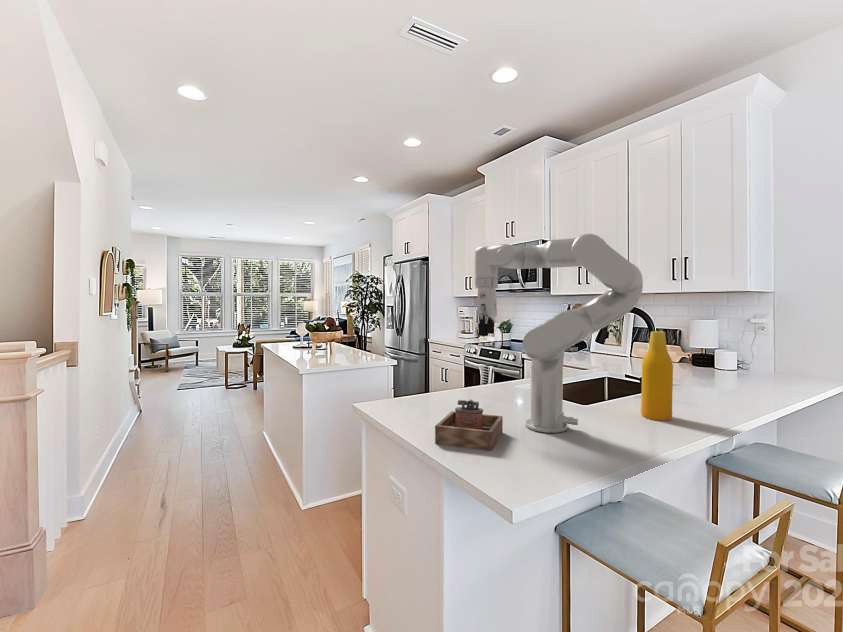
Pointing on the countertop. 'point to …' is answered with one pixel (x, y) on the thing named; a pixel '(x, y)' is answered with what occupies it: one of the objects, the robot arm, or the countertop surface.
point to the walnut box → (469, 432)
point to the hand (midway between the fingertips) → (486, 334)
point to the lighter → (469, 415)
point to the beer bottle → (657, 380)
